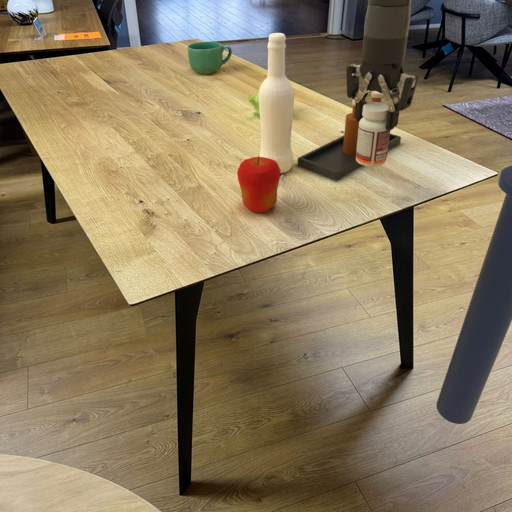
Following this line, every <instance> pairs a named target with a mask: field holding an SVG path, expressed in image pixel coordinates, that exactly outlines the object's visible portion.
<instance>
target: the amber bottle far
mask: <svg viewBox="0 0 512 512" xmlns="http://www.w3.org/2000/svg"><path fill="white" fill-rule="evenodd" d="M370 94H371V95H370V97H371V101H370V103H371V102H380V103H382V100H383V99H382V98H384V96H383V94H382V93H379V92H377V91H371V92H370Z"/></svg>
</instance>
